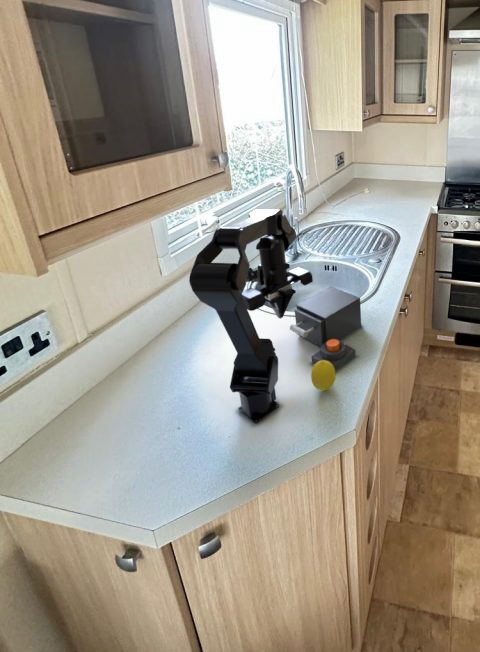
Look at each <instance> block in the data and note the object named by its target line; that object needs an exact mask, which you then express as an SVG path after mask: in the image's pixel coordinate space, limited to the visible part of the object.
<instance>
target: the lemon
mask: <svg viewBox="0 0 480 652" xmlns="http://www.w3.org/2000/svg"><path fill="white" fill-rule="evenodd" d="M311 368H312V369H311V373H310V378H311V383H312V385H313V387H315V389H317V390H319V391H328V390H330V389H331V388H332V387H333V386H334V384H335V382H336V377H337V376H336V371H335V369H334V367H333V365H332V364H331V363H330V362H329V361H326V360H321V361H318V362H317V363H316V364H315V365H314V364H313V366H312V367H311Z"/></svg>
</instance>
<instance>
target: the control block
mask: <svg viewBox="0 0 480 652" xmlns="http://www.w3.org/2000/svg"><path fill="white" fill-rule="evenodd" d="M338 341H339V340H338ZM339 346H340V348H339V350H338V351H334V352H329V351H328V350H327V342H325V343H324V344H322V347H321V346H320V350H319V351H317V352H316V353H314V354H313V355H310V357H311V358H310V359H311V364H312V365H313V366H314V365H315V364H316V363H317V362H318V361H321V360H326V361H329V362H330V363H331V364H332V365H333V367H334V369H335V372H337V371H338V370H340V369H341V368H343V367H344V366H345V365H347V364H348V363H349V362H351V361H352V360H354V358H356V355H357V352H356V351H357V350H356V349H355V348H353V347H351V346H349V345H348V344H345V342H343V341H342V340H340V341H339Z"/></svg>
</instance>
